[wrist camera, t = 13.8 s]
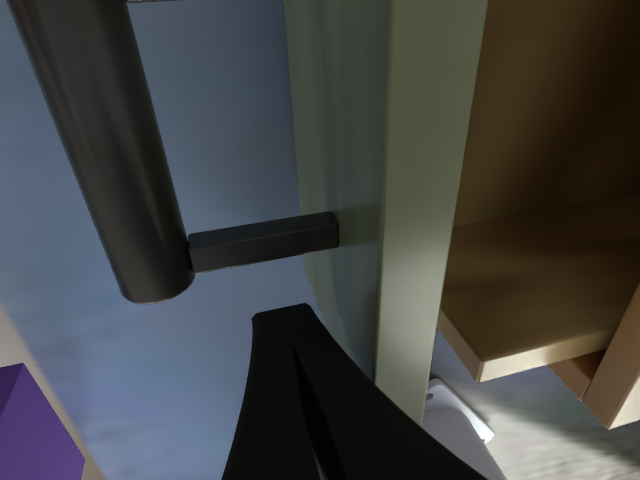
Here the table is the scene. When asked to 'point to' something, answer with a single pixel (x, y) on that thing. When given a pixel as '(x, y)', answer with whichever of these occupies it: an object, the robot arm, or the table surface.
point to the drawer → (393, 173)
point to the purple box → (33, 432)
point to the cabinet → (609, 373)
